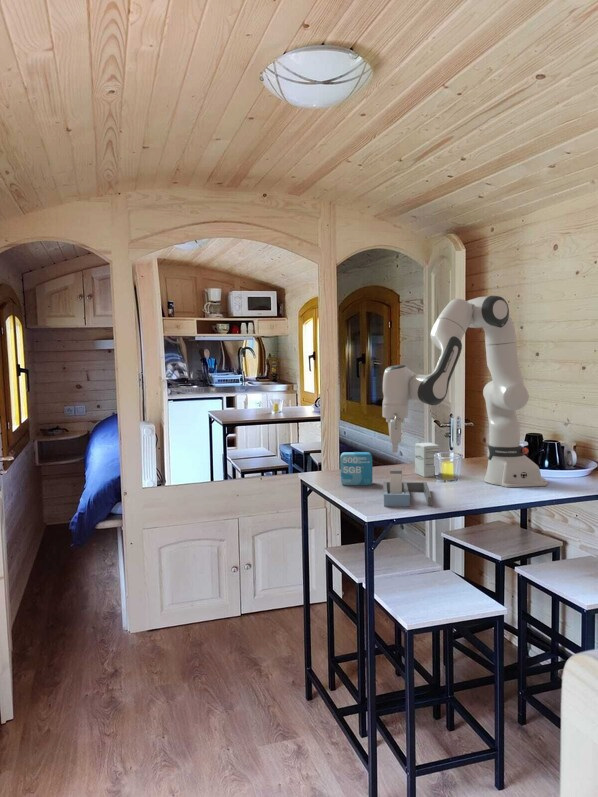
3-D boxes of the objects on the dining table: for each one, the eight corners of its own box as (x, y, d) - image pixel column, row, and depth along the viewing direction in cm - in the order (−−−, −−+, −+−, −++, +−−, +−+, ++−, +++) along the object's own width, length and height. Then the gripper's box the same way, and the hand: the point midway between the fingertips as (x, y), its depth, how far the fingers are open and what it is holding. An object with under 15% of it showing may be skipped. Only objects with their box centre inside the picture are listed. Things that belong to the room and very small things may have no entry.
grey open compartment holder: (426, 490, 221) (426, 479, 220) (432, 507, 199) (432, 495, 198) (383, 489, 223) (383, 479, 222) (384, 506, 201) (384, 494, 200)
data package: (341, 485, 231) (340, 454, 230) (340, 482, 235) (340, 452, 234) (372, 485, 230) (372, 454, 229) (371, 482, 235) (371, 451, 234)
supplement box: (414, 473, 248) (414, 443, 247) (430, 472, 251) (430, 442, 249) (423, 477, 241) (423, 446, 240) (439, 475, 244) (439, 444, 242)
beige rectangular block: (401, 496, 213) (401, 468, 212) (401, 499, 209) (401, 470, 208) (390, 496, 213) (389, 468, 212) (390, 499, 210) (390, 470, 209)
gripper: (405, 416, 198) (405, 457, 199) (403, 409, 218) (402, 446, 219) (386, 415, 198) (386, 457, 200) (385, 408, 219) (385, 446, 220)
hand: (394, 451), depth 210 cm, fingers closed
